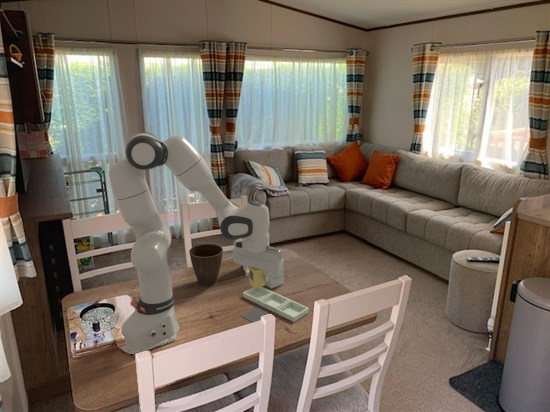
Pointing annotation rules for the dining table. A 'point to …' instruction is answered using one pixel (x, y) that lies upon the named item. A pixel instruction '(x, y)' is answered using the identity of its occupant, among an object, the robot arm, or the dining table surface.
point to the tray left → (256, 294)
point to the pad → (254, 314)
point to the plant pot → (206, 262)
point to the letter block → (256, 277)
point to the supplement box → (275, 278)
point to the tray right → (292, 310)
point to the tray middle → (273, 301)
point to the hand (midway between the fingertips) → (257, 278)
